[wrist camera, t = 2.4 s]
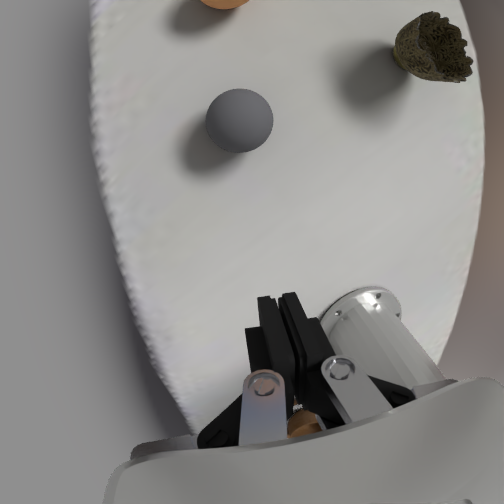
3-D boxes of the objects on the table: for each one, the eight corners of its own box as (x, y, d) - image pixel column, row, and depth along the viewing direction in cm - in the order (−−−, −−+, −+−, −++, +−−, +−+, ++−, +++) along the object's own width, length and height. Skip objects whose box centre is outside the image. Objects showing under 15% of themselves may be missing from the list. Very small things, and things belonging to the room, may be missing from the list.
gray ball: (261, 155, 25) (271, 160, 20) (202, 146, 24) (197, 148, 19) (272, 100, 23) (285, 91, 18) (213, 90, 22) (211, 77, 17)
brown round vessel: (368, 26, 20) (409, 3, 13) (417, 33, 20) (461, 19, 13) (384, 86, 23) (432, 78, 16) (431, 89, 23) (479, 86, 16)
